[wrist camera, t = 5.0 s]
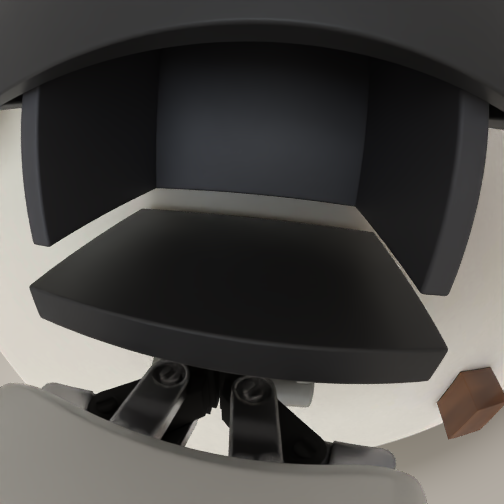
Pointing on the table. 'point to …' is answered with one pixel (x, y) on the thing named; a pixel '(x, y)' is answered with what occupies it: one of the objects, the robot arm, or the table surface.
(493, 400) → the block
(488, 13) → the dark drawer cabinet
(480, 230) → the table surface
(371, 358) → the pull-out drawer
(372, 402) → the table surface
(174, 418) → the robot arm
